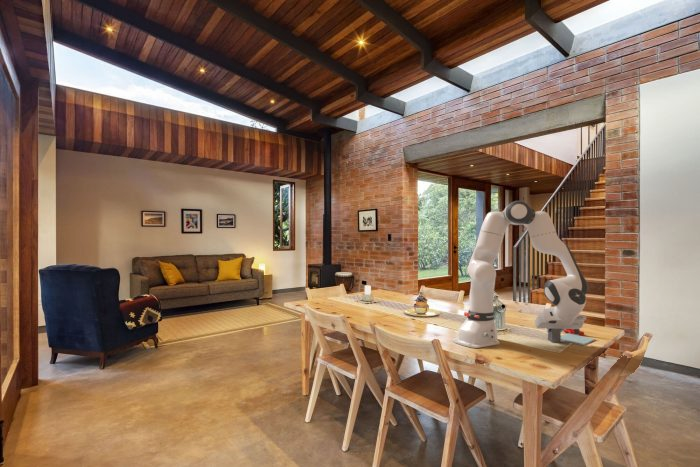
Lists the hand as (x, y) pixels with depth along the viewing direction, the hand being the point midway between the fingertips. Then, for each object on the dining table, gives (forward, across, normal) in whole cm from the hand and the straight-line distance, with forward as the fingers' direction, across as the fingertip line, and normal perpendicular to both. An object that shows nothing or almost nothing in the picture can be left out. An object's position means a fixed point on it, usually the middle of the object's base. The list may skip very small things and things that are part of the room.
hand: (553, 330), depth 167 cm
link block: (+3, 0, +4) cm, 5 cm away
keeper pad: (+5, -11, +2) cm, 12 cm away
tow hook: (+13, -16, -7) cm, 22 cm away
